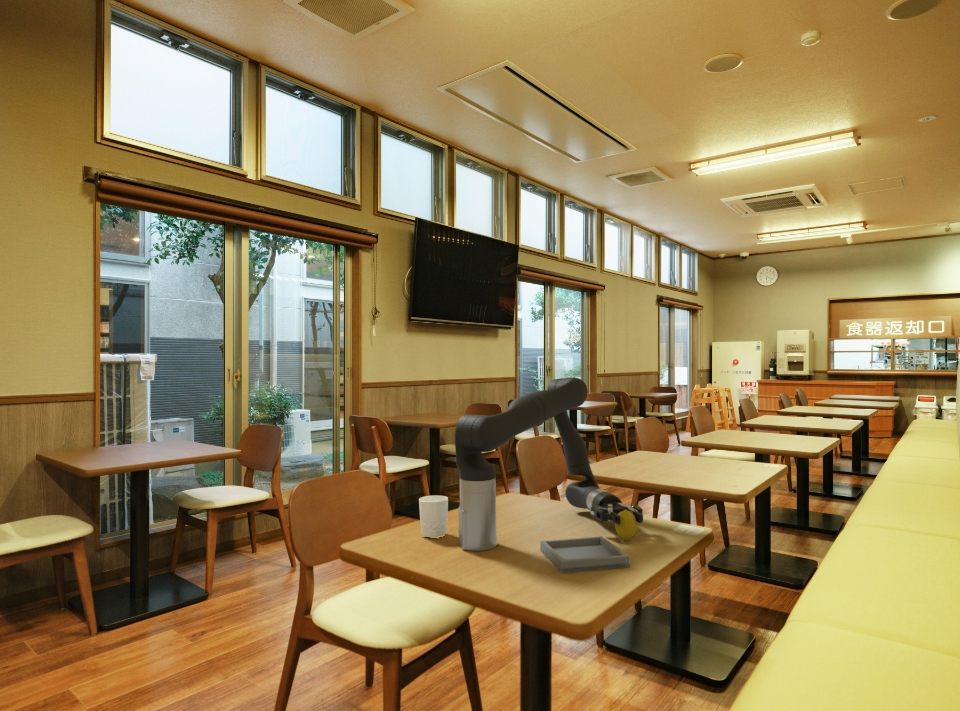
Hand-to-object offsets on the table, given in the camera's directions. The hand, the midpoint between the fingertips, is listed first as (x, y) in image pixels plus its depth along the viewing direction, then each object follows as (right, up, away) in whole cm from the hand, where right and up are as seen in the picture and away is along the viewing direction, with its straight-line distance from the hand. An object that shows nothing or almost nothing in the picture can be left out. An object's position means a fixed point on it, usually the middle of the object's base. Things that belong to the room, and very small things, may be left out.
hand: (630, 519), depth 151 cm
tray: (-14, -6, -12) cm, 19 cm away
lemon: (0, -6, +2) cm, 7 cm away
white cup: (-51, -7, +10) cm, 52 cm away
